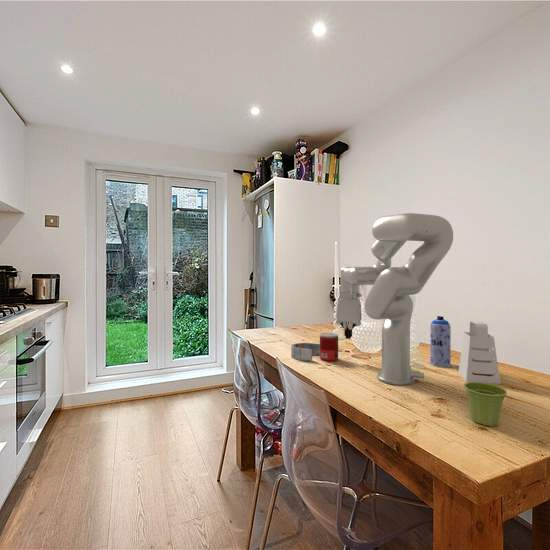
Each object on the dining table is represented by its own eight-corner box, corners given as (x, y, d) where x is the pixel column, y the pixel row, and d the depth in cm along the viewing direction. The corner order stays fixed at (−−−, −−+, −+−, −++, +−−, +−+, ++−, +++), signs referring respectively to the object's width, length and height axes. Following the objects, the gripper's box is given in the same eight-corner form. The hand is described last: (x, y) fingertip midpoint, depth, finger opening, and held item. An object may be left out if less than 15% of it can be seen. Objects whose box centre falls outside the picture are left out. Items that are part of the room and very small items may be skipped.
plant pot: (489, 413, 91) (490, 381, 91) (515, 429, 81) (516, 394, 81) (456, 413, 90) (456, 382, 90) (478, 430, 81) (478, 395, 81)
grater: (489, 374, 124) (489, 321, 123) (500, 384, 114) (500, 325, 113) (458, 372, 126) (458, 320, 126) (466, 381, 116) (466, 324, 116)
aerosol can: (426, 364, 137) (426, 316, 137) (435, 360, 142) (435, 314, 142) (445, 368, 131) (445, 318, 131) (454, 364, 136) (454, 316, 136)
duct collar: (320, 354, 154) (320, 343, 154) (311, 361, 142) (311, 350, 142) (297, 352, 159) (297, 341, 159) (286, 358, 147) (286, 347, 147)
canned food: (339, 361, 142) (339, 336, 141) (320, 361, 142) (320, 336, 142) (336, 357, 149) (336, 332, 149) (318, 357, 149) (318, 332, 149)
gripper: (368, 295, 142) (367, 338, 143) (334, 294, 148) (333, 334, 149) (365, 297, 135) (364, 342, 136) (329, 295, 141) (328, 338, 142)
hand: (348, 338), depth 142 cm, fingers closed
